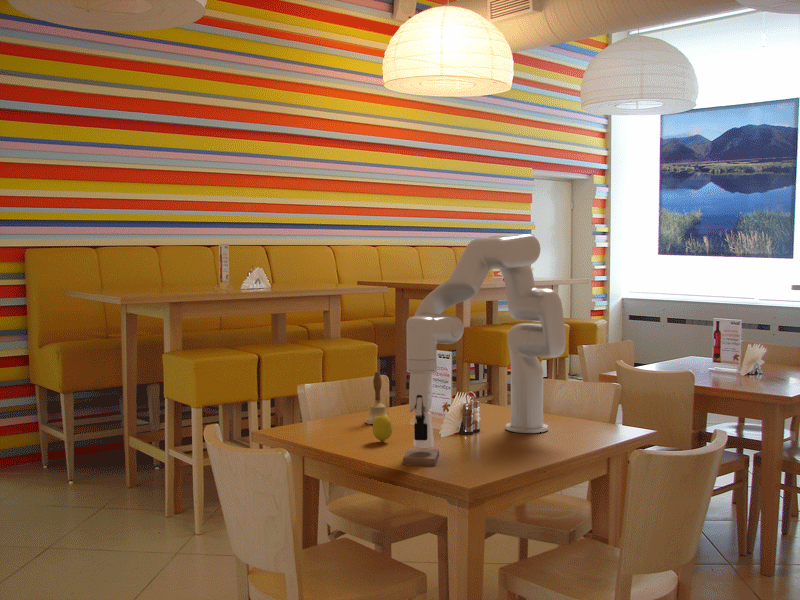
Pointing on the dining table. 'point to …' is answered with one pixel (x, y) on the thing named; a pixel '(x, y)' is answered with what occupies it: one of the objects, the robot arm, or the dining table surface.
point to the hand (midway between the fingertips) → (422, 437)
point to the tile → (421, 456)
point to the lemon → (382, 427)
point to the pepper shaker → (430, 438)
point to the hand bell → (376, 401)
